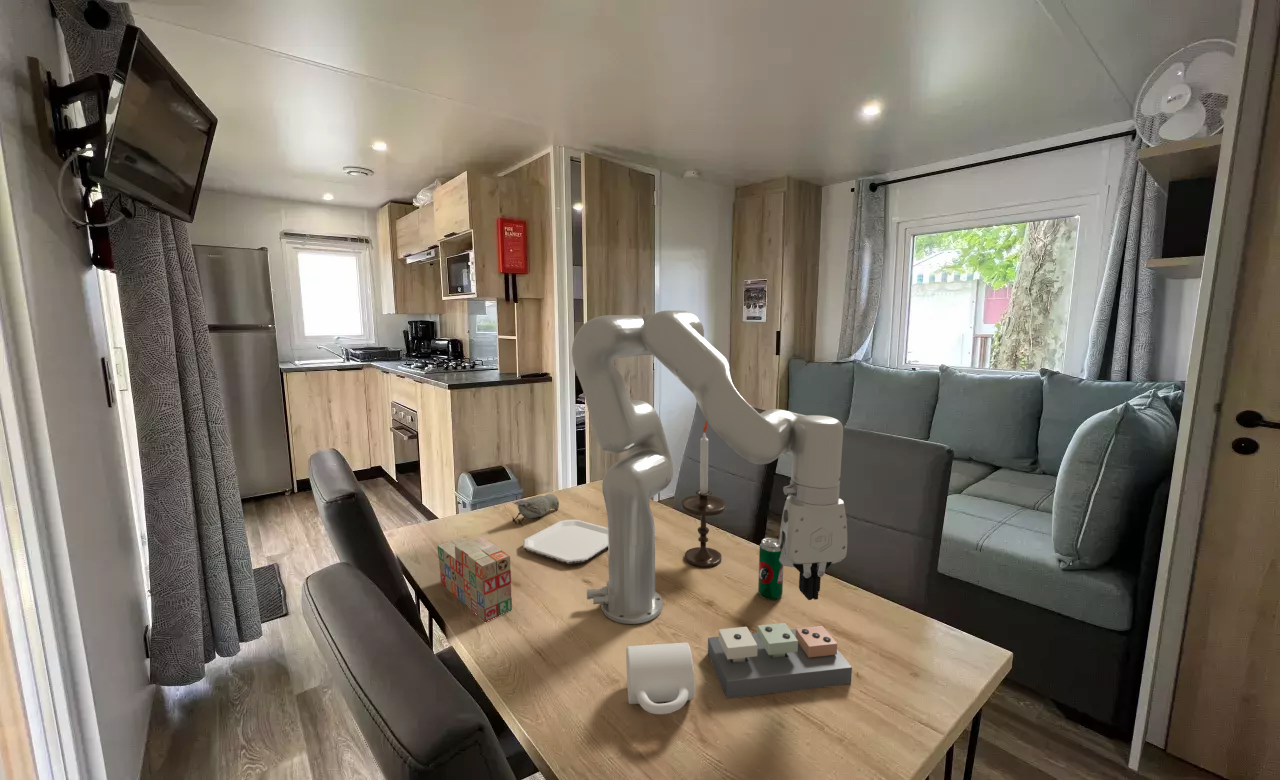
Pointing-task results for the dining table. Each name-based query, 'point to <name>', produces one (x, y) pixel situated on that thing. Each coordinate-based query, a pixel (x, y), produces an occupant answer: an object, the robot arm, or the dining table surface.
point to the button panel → (776, 671)
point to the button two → (777, 639)
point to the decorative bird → (536, 506)
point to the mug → (660, 676)
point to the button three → (816, 641)
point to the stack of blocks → (477, 575)
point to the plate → (569, 541)
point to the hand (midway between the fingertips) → (808, 595)
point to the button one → (737, 643)
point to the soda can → (770, 569)
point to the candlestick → (703, 513)
